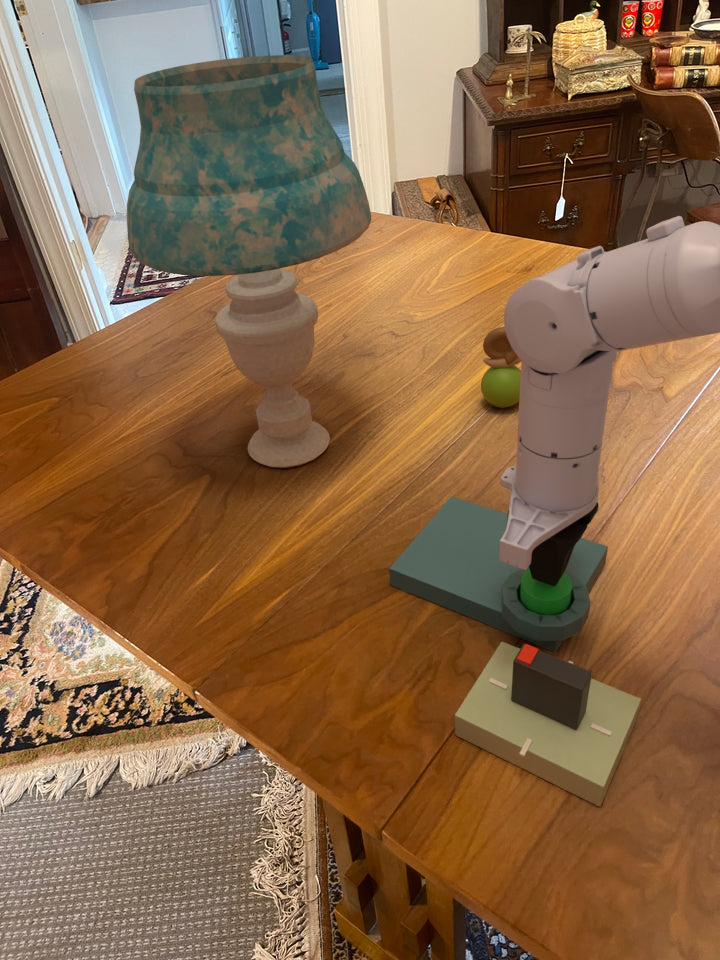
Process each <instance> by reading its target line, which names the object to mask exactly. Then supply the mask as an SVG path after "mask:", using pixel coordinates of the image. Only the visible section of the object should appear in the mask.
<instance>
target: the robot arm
mask: <svg viewBox="0 0 720 960" xmlns="http://www.w3.org/2000/svg"><path fill="white" fill-rule="evenodd" d="M646 236H647V238H645V239H642V240H640V241H636V242H633V243H630V244H627V245H624V246H621V247H617V248H616V249H612V250H608V251H605V250H604V248H603V246H602V245H597V246H594V247H592V248H588V249H587V250H584V251H582V252H580V253H578V255H576V258H575V259H574V260H571V261H569V262H567V263H565V264H563V265H561V266H559V267H556V268H554V269H553V270H550V271H548V272H546V273H543V274H542V275H540V276H538V277H533V278H531V279H530V280H528V281H527V282H525V283H524V284H523V285H522V286H519V287H518V288H516V290H514V291H513V292H512V294H511V295H510V296H509V297H508V300H507V302H506V305H505V308H504V314H503V323H504V324H503V325H504V327H505V331H506V335H507V338H508V341H509V343H510V345H511V347H512V349H513V350H514V352H515V353H516V355H517V356H518V357H519V358H520V359H521V362H520V370H521V380H520V399H519V401H518V418H517V419H518V422H517V442H516V443H517V444H516V460H515V461H516V463H515V465H511V466H509V467H507V468H506V469H505V471H504V472H503V473H502V474H501V476H500V483H499V484H500V486H501V487H503V488H504V489H505V488H506V489H507V490H508V489H509V490H510V491H511V492H510V500H509V507H508V511H507V514H508V516H507V522H508V523H507V527H506V531H505V533H504V535H503V536H502V538H501V539H500V551H499V561H501V562H504V563H507V564H509V565H512V566H514V567H518V568H521V569H524V570H527V568H528V567H529V569H530V573H531V576H532V578H533V579H535V580H538V581H540V582H543V583H546V584H549V585H551V586H556V585H557V583H558V582H559V580H560V578H561V577H562V575H563V574H564V572H565V570H566V567H567V565H568V562H569V560H570V557H571V554H572V552H573V549H574V547H575V544H576V543H577V542H578V541H579V540H580V538H583V537H582V536H583V535H584V534H585V532H586V530H587V529H588V528H589V526H588V525H590V524H591V523H592V520H593V519H594V517H595V516H596V514H597V512H598V511H599V502H598V500H599V492H600V481H599V471H600V464H601V455H602V449H603V443H604V434H605V425H606V419H607V411H608V405H609V396H610V388H611V381H612V373H613V367H614V363H615V362H616V361H617V356H618V352H623V351H628V350H633V349H638V348H645V347H650V346H655V345H661V344H665V343H672V342H677V341H684V340H688V339H693V338H699V337H703V336H709V335H715V334H719V333H720V224H717V223H715V222H712V221H708V220H707V221H706V220H704V221H703V220H702V221H698V222H694V223H691V224H688V225H685V222H684V219H683V217H682V216H681V215H677V216H675V217H671V218H668V219H666V220H662V221H660V222H658V223H656V224H654V225H652V226H650V227H648V228H647V229H646Z"/></svg>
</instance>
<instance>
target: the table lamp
mask: <svg viewBox="0 0 720 960" xmlns="http://www.w3.org/2000/svg"><path fill="white" fill-rule="evenodd" d="M133 92H134V96H135V100H136V104H137V110H138V118H139V122H140V124H139V125H140V134H139V135H140V136H139V145H138V150H137V155H136V159H135V163H134V164H135V165H134V168H133V169H134V170H133V175H134V176H133V178H134V180H133V182H132V184H131V186H130V188H129V190H128V194H127V201H126V228H127V231H126V232H127V242H128V248H129V251H130V253H131V255H132V257H133V258H134V259H135V260H136V261H137V262H139V263H140V264H141V265H143V266H146V267H147V268H150V269H152V270H155V271H159V272H163V273H167V274H173V275H180V276H191V277H192V276H196V277H220V276H221V277H222V276H223V277H224V276H234V277H232V278H231V279H229V280H228V281H227V283H226V284H225V293H226V295H227V297H228V298H229V299H230V300H231V301H230V303H227V304H226V305H225V306H224V307H222V308H221V309H220V310H219V311H218V313H217V314H216V316H215V328H216V331H217V333H218V334H219V336H220V337H221V338H222V339H223V340H224V341H225V344H226V347H227V351H228V353H229V356H230V359H231V360H232V362H233V364H234V365H235V367H236V369H237V370H238V372H240V374H241V375H243V376H244V377H245V378H246V379H248V380H249V381H251V382H253V383H254V384H255V383H256V384H258V385H261V386H262V387H263V388H265V390H266V392H265V393H264V394H263V398H262V399H263V401H261V402H260V403H259V404H258V406H257V407H256V409H255V415H256V420H257V426H258V429H257V430H256V431H255V432H254V433H253V434H252V436H251V438H250V440H249V441H248V444H247V453H248V455H249V457H250V458H251V459H252V460H254V461H255V462H257V463H259V464H260V465H263V466H266V467H270V468H276V469H288V468H295V467H301V466H303V465H305V464H307V463H310V462H312V461H314V460H316V459H317V458H318V457H319V456H320V455H321V454H323V453H324V452H325V451H326V450H327V448H328V447H329V444H330V443H331V441H330V440H331V437H330V433H329V431H328V430H327V429H326V428H325V427H324V426H323V425H322V424H320V423H319V422H317V421H315V420H313V417H312V411H311V404H310V402H309V400H308V399H307V398H305V397H304V396H302V395H300V394H299V391H297V390H296V389H295V388H294V387H293V384H294V382H295V380H297V379H298V378H299V377H300V376H301V375H302V374H303V373H304V372H305V371H306V370H307V368H308V366H309V365H310V363H311V360H312V358H313V354H314V348H315V326H316V324H317V323H318V319H319V309H318V306H317V304H316V301H315V300H313V299H312V298H311V297H309V296H307V295H306V294H302V293H297V292H296V291H295V290H296V288H297V286H298V278H297V276H296V275H295V273H294V272H292V271H289V270H286V269H283V268H289V267H293V266H297V265H300V264H304V263H309V262H311V261H315V260H317V259H320V258H323V257H325V256H329V255H330V254H333V253H335V252H338V251H339V250H342V249H343V248H345V247H347V246H349V245H351V244H353V243H354V242H355V241H356V240H358V239H359V238H361V237H362V236H363V234H364V233H365V232H366V231H367V230H368V229H369V227H370V225H371V223H372V213H371V207H370V203H369V199H368V195H367V192H366V191H367V190H366V189H365V185H364V182H363V180H362V179H363V178H362V176H361V173H360V171H359V169H358V167H357V165H356V163H355V161H353V159H352V158H351V157H350V156H349V155H348V154H347V153H346V152H345V149H344V145H343V142H342V140H341V139H340V137H339V136H338V134H337V132H336V131H335V128H334V127H333V125H332V124H331V122H330V120H329V118H328V116H327V114H326V111H325V109H324V107H323V104H322V100H321V96H320V91H319V86H318V80H317V70H316V66H315V63H314V61H313V59H312V57H308V56H303V55H291V54H288V55H287V54H281V55H280V54H276V55H275V54H273V55H256V56H244V57H242V56H241V57H233V58H232V57H231V58H223V59H215V60H214V59H213V60H209V61H201V62H195V63H189V64H183V65H178V66H173V67H169V68H164V69H160V70H156V71H152V72H150V73H146V74H144V75H141V76H139V77H137V78H136V79H134V85H133Z"/></svg>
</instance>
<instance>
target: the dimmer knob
mask: <svg viewBox="0 0 720 960" xmlns="http://www.w3.org/2000/svg"><path fill="white" fill-rule="evenodd" d="M519 649H520V651H519V652H518V654H517V656H516V657H515V659H514V660H513V676H512V692H511V701H513V702H516V703H518V704H520V705H522V706H524V707H527V708H529V709H531V710H533V711H535V712H537V713H540V714H542V715H544V716H546V717H548V718H551V719H553V720H555V721H557V722H559V723H562V724H564V725H566V726H568V727H570V728H573V729H575V730H577V729H578V727H579V725H580V723H581V721H582V719H583V717H584V715H585V713H586V707H587V701H588V695H589V688H590V682H591V678H592V674H593V672H592V671H591V670H589V669H586V668H584V667H581V666H579V665H577V664H574V663H573V664H572V663H569V661H566V660H564V659H562V658H559V657H557V656H555V655H552V654H549V653H547V652H544V651H542V650H541V649H539V648H537V647H535V646H532V645H530V644H527V643H523V644H522V646H520V648H519Z"/></svg>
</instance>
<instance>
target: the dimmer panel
mask: <svg viewBox="0 0 720 960" xmlns="http://www.w3.org/2000/svg"><path fill="white" fill-rule="evenodd" d="M520 649H521V648H519V647H517V646H515V645H512V644H510V643H507V642H504V641H501V642H500V643H499V645H498V646H497V648H496V649H495V651H494V652H493V654H492V655H491V657H490V658H489V660H488V662H487V663H486V665H485V666H484V668H483V669H482V671H481V672H480V674H479V676H478V678H477V679H476V680H475V682H474V684H473V685H472V687H471V689H470V690H469V691H468V693H467V694H466V696H465V698H464V699H463V701H462V702H461V704H460V706H459V707H458V709H457V710H456V712H455V714H454V735H455V736H457V737H458V738H460V739H462V740H465V741H466V742H468V743H470V744H472V745H474V746H476V747H478V748H481V749H483V750H485V751H487V752H488V753H491V754H492V755H494V756H496V757H498V758H501V759H502V760H505V761H507V762H508V763H510V764H513V765H514V766H517V767H518V768H521V769H522V770H525V771H526V772H529V773H531V774H532V775H535V776H537V777H539V778H541V779H543V780H545V781H547V782H548V783H551V784H553V785H555V786H557V787H559V788H561V789H562V790H565V791H567V792H569V793H571V794H572V795H574V796H577V797H579V798H581V799H583V800H585V801H587V802H589V803H591V804H593V805H595V806H597V807H601V806H602V804H603V801H604V799H605V797H606V794H607V792H608V789H609V787H610V784H611V782H612V780H613V777H614V775H615V773H616V770H617V768H618V765H619V763H620V761H621V758H622V756H623V753H624V752H625V749H626V747H627V744H628V742H629V739H630V737H631V735H632V732H633V729H634V727H635V725H636V723H637V720H638V716H639V712H640V707H641V703H642V698H640V697H638V696H636V695H632V694H631V693H628V692H625V691H623V690H620V689H619V688H617V687H613V686H611V685H609V684H606V683H604V682H601V681H599V680H597V679H594V678H592V677H591V682H590V688H589V695H588V701H587V707H586V713H585V715H584V717H583V719H582V721H581V723H580V725H579V727H578V729H577V730H575V729H573V728H570V727H568V726H566V725H564V724H562V723H559V722H557V721H555V720H553V719H551V718H548V717H546V716H544V715H542V714H540V713H537V712H535V711H533V710H531V709H529V708H527V707H524V706H522V705H520V704H518V703H516V702H513V701H511V692H512V676H513V660H514V659H515V657H516V656H517V654H518V652H519V651H520ZM568 662H569V663H572V664H574V662H573V661H571V660H568Z"/></svg>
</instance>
